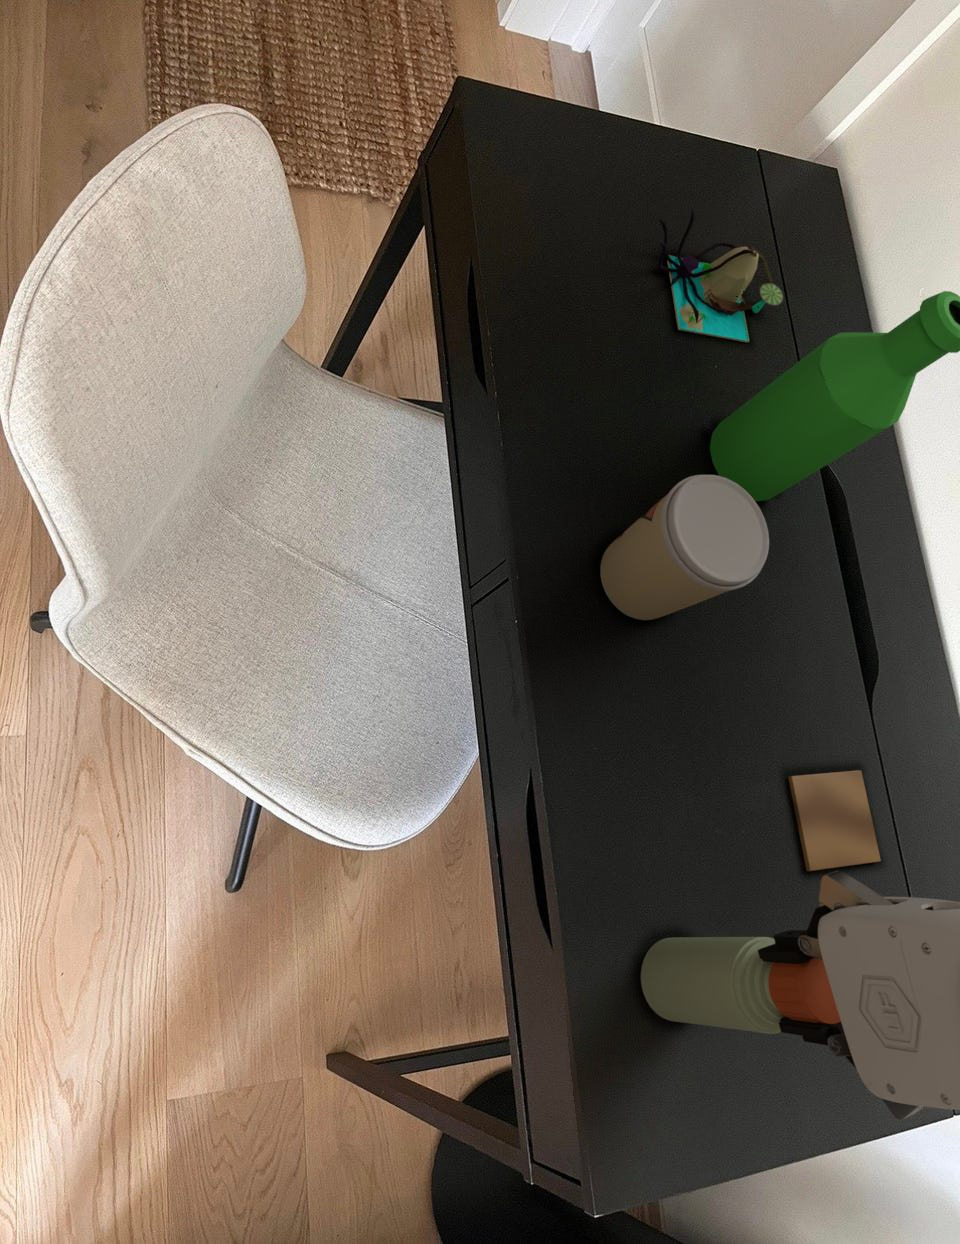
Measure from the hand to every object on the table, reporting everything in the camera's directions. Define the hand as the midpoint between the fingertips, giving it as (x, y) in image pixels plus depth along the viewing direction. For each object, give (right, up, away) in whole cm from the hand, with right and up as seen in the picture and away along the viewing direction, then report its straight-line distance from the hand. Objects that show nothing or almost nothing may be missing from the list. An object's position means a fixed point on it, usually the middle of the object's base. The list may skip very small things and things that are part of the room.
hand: (787, 983), depth 60 cm
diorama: (+2, +57, +34) cm, 67 cm away
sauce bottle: (-5, -4, +11) cm, 13 cm away
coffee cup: (-6, +27, +21) cm, 35 cm away
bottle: (+5, +39, +29) cm, 49 cm away
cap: (0, 0, -1) cm, 1 cm away
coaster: (+11, +6, +21) cm, 25 cm away
